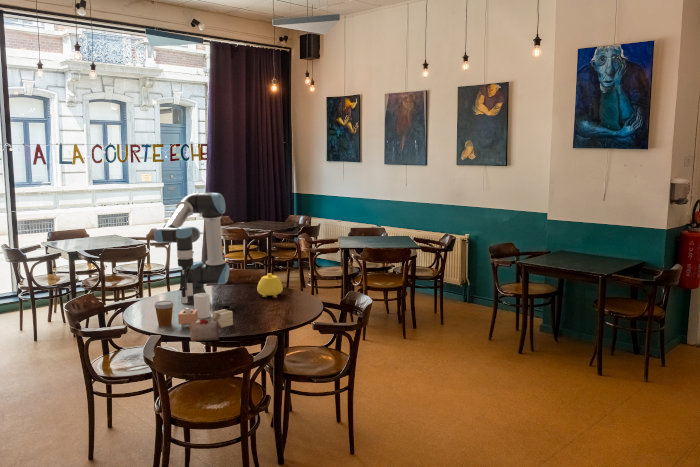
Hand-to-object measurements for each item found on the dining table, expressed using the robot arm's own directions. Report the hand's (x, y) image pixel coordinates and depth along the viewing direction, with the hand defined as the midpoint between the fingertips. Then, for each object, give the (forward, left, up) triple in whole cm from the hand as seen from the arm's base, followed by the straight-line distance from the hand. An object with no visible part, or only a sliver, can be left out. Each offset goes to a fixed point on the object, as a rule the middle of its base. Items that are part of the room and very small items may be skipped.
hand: (187, 299), depth 306 cm
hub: (0, 0, -15) cm, 15 cm away
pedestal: (+10, +14, -15) cm, 22 cm away
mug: (-13, +17, -15) cm, 26 cm away
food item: (+23, -6, -15) cm, 28 cm away
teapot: (-20, +72, -15) cm, 76 cm away
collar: (0, 0, -12) cm, 12 cm away
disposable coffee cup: (-12, -6, -15) cm, 20 cm away
